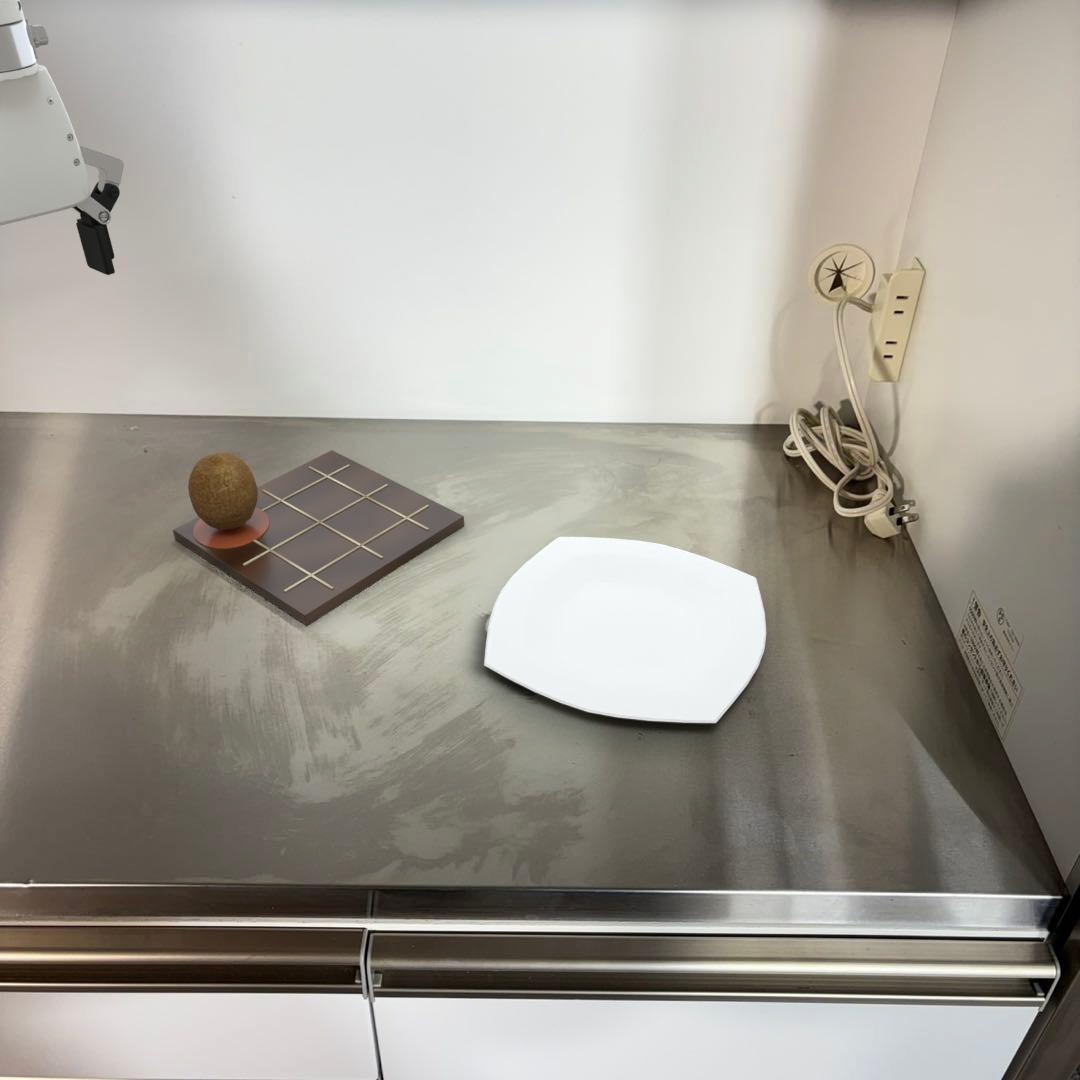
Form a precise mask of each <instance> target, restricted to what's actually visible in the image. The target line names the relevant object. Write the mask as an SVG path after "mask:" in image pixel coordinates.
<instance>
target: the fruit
mask: <svg viewBox="0 0 1080 1080" xmlns="http://www.w3.org/2000/svg"><path fill="white" fill-rule="evenodd" d="M257 487H258V486H257V483H256V478H255V476H254V474H253V472H252V470H251V469H250V467H249V466H248V464H247V463H246V462H245V461H243V460H242V459H241V458H239V457H238V456H236V455H235V454H234V453H233V454H232V453H227V452H217V453H212V454H208V455H206V456H204V457H202V458H200V459H199V460H198V461H197V462H196V463H195V464H194V466H193V468H192V470H191V472H190V475H189V479H188V486H187V489H188V496H189V499H190V502H191V505H192V509H193V511H194V513H196V516H197V517H200V518H201V519H202V520H203V521H204V522H205V523H206V524H208V525H209V526H210V527H212V528H216V529H220V530H229V529H234V528H237V527H240V526H242V525H244V524H245V523H246V522H247V521H248V520H249V519H250V518H251V517H252V515H253V512H254V510H255V507H256V504H257V499H258V490H257Z"/></svg>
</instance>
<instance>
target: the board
mask: <svg viewBox="0 0 1080 1080" xmlns="http://www.w3.org/2000/svg"><path fill="white" fill-rule="evenodd" d="M257 490H258V499H257V504H256V507H255V510H254V512H253V515H252V517H251V518H250V519H249V520H248V521H247V522H246V523H245V524H244V525H242V526H240V527H237V528H234V529H229V530H220V529H216V528H212V527H210V526H209V525H208V524H206V523H205V522H204V521H203V520H202V519H201V518H200V517H199V516H197V517H195V518H194V519H192V520H190V521H188V522H185V523H184V524H182V525H180V526H178V527H176V528H174V529H172V533H173V537H174V540H175V541H177V542H178V543H180V544H181V545H183V547H185V548H187V549H189V550H190V551H192V552H193V553H194V554H196V555H198V556H200V558H203V559H204V560H205V561H207V562H209V563H210V564H211V565H213V566H214V567H216V568H217V569H219V570H220V571H221V572H223V573H225V574H226V575H228V576H230V577H231V578H233V579H234V580H236V581H237V582H239V583H240V584H242V585H243V586H245V587H247V588H248V589H250V590H251V591H252V592H254V593H255V594H257V595H259V596H260V597H262V598H263V599H265V600H266V601H268V602H269V603H271V604H272V605H273V606H275V607H277V608H278V609H280V610H282V611H283V612H285V613H286V614H287V615H289V616H290V617H292V618H294V619H295V620H297V621H298V622H300V623H301V624H303V625H304V626H306V627H308V626H309V625H310V624H312V623H314V622H316V621H317V620H318V619H320V618H322V617H323V616H325V615H326V614H328V613H329V612H331V611H332V610H334V609H336V608H337V607H339V606H341V605H342V604H344V603H345V602H346V601H349V600H350V599H351V598H353V597H355V596H356V595H358V594H360V593H361V592H363V591H365V590H366V589H368V588H369V587H370V586H372V585H374V584H375V583H377V582H378V581H380V580H382V579H383V578H385V577H387V576H388V575H389V574H391V573H392V572H394V571H395V570H397V569H398V568H399V569H400V567H403V565H405V564H407V563H408V562H410V561H412V560H413V559H414V558H416V557H418V556H419V555H421V554H423V553H424V552H425V551H427V550H428V549H430V548H431V547H433V546H435V545H436V544H438V543H439V542H441V541H443V540H445V539H446V538H448V537H449V536H451V535H452V534H454V533H455V532H457V531H459V530H460V529H461V528H463V527H465V516H464V515H462V514H460V513H459V512H457V511H454V510H453V509H451V508H449V507H446V506H445V505H442V504H440V503H439V502H436V501H435V500H432V499H430V498H429V497H427V496H424V495H422V494H421V493H419V492H417V491H415V490H412V489H410V488H408V487H407V486H404V485H403V484H401V483H399V482H396V481H394V480H393V479H390V478H389V477H387V476H385V475H383V474H381V473H379V472H377V471H375V470H372V469H370V468H369V467H367V466H366V465H365V466H364V465H363V464H361V463H359V462H357V461H354V460H353V459H350V458H349V457H346V456H345V455H343V454H340V453H338V452H337V451H335V450H332V449H330V450H329V451H327V452H325V453H323V454H321V455H318V456H317V457H315V458H313V459H311V460H309V461H306V462H305V463H304V464H301V465H299V466H297V467H294V468H293V469H292V470H291V469H290V470H289V471H287V472H285V473H284V474H282V475H279V476H277V477H276V478H274V479H271V480H269V481H267V482H266V483H264V484H262V485H261V484H260V485H259V486H257Z"/></svg>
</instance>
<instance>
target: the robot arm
mask: <svg viewBox="0 0 1080 1080" xmlns="http://www.w3.org/2000/svg"><path fill="white" fill-rule="evenodd" d="M24 14H25V13H24V11H23V7H22V4H21V0H0V227H1V226H4V225H8V224H13V223H17V222H21V221H26V220H30V219H34V218H37V217H41V216H45V215H49V214H54V213H57V212H61V211H65V210H68V209H72V210H73V211H75V212H76V213H77V214H79V218H77V219H76V224H75V225H76V229H77V233H78V236H79V240H80V243H81V247H82V251H83V254H84V258H85V262H86V265H87V266H88V268H90V269H92V270H94V271H96V272H99V273H101V274H103V275H106V276H110V275H115V273H116V271H115V266H114V262H113V260H114V258H115V253H114V252H115V251H114V248H113V244H112V240H111V236H110V233H109V229H108V224H109V223H110V222H111V220H112V214H111V212H112V211H113V209H114V207H115V205H116V203H117V200H118V199H119V197H120V196H121V195H120V194H121V191H120V188H119V187H120V185H121V182H122V176H123V172H124V166H125V164H124V161H123V160H122V159H121V158H120V157H117V156H114V155H112V154H108V153H105V152H101V151H98V150H96V149H92V148H89V147H86V146H83V145H80V144H79V141H78V139H77V138H78V137H77V136H76V133H75V130H74V127H73V124H72V121H71V118H70V116H69V114H68V112H67V109H66V107H65V104H64V102H63V99H62V98H61V95H60V93H59V91H58V88H57V85H56V84H55V82H54V80H53V78H52V77H51V75H50V73H49V70H48V69H47V67H46V66H45V65H42V64H39V63H37V60H39V56H38V53H37V49H39V48H40V47H42V46H48V44H49V36H48V32H47V31H46V28H45V27H44V26H43V25H42V24H35V25H33V24H31V23H29V19H28V18H25V15H24ZM86 165H88V166H92V167H94V168H96V169H97V171H98V181H97V182H96V184H95V185H94V187H93V189H92V191H91V183H90V179H89V173H88V170H87V167H86Z"/></svg>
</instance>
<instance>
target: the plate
mask: <svg viewBox="0 0 1080 1080" xmlns="http://www.w3.org/2000/svg"><path fill="white" fill-rule="evenodd" d="M766 623H767V622H766V613H765V608H764V603H763V598H762V594H761V591H760V587H759V583H758V580H757V577H756V576H753V575H750V574H749V573H746V572H744V571H741V570H740V569H736V568H734V567H733V566H729V565H727V564H724V563H721V562H719V561H716V560H713V559H710V558H709V557H706V556H702V555H700V554H697V553H694V552H690V551H688V550H684V549H681V548H677V547H674V546H670V545H666V544H663V543H659V542H657V543H656V542H652V541H651V542H650V541H644V540H636V539H635V540H634V539H624V538H614V537H612V538H611V537H595V536H594V537H593V536H592V537H591V536H558V537H556V538H555V539H553V540H552V541H551V542H549V543H548V544H547V545H545V547H543V548H541V550H539V551H538V552H536V554H534V555H533V556H532V557H531V558H529V559H528V560H527V561H525V562H524V563H523V564H522V565H521V566H520V567H519V569H518V570H517V571H515V572H514V574H513V575H511V576H510V578H509V579H508V581H507V582H506V583H505V584H504V586H503V587H502V589H501V590H500V591H499V594H498V596H497V597H496V600H495V602H494V604H493V606H492V610H491V614H490V618H489V621H488V626H487V634H486V641H485V650H484V661H483V666H484V667H485V668H486V669H488V670H490V671H492V672H493V673H496V675H499V676H501V677H503V678H504V679H506V680H508V681H510V682H511V683H514V684H516V685H518V686H520V687H522V688H524V689H526V690H528V691H530V692H532V693H533V694H536V695H539V696H541V697H543V698H545V699H548V700H551V701H554V702H555V703H557V704H560V705H563V706H565V707H568V708H572V709H575V710H577V711H580V712H583V713H586V714H591V715H597V716H602V717H606V718H612V719H619V720H628V721H637V722H646V723H647V722H648V723H663V724H681V725H682V724H683V725H716V724H717V722H718V721H719V720H720V719H721V718H722V717H723V715H724V714H725V713H726V712H727V710H728V709H729V708H730V707H731V706H732V705H733V704H734V702H735V701H736V700H737V699H738V697H739V696H740V695H741V693H742V692H743V691H744V690H745V688H746V687H747V686H748V685H749V683H750V682H751V680H752V678H753V676H754V675H755V673H756V671H757V670H758V668H759V666H760V664H761V660H762V657H763V656H764V652H765V648H766V641H767V640H766V639H767V624H766Z"/></svg>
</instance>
